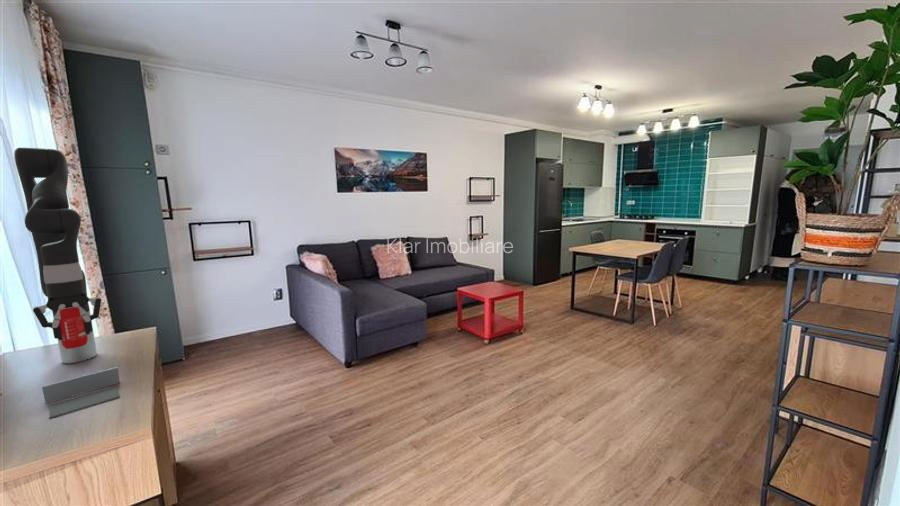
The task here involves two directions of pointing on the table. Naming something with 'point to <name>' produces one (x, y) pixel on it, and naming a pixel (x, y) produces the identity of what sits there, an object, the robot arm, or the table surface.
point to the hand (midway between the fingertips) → (74, 336)
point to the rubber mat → (83, 401)
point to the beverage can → (72, 328)
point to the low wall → (80, 384)
